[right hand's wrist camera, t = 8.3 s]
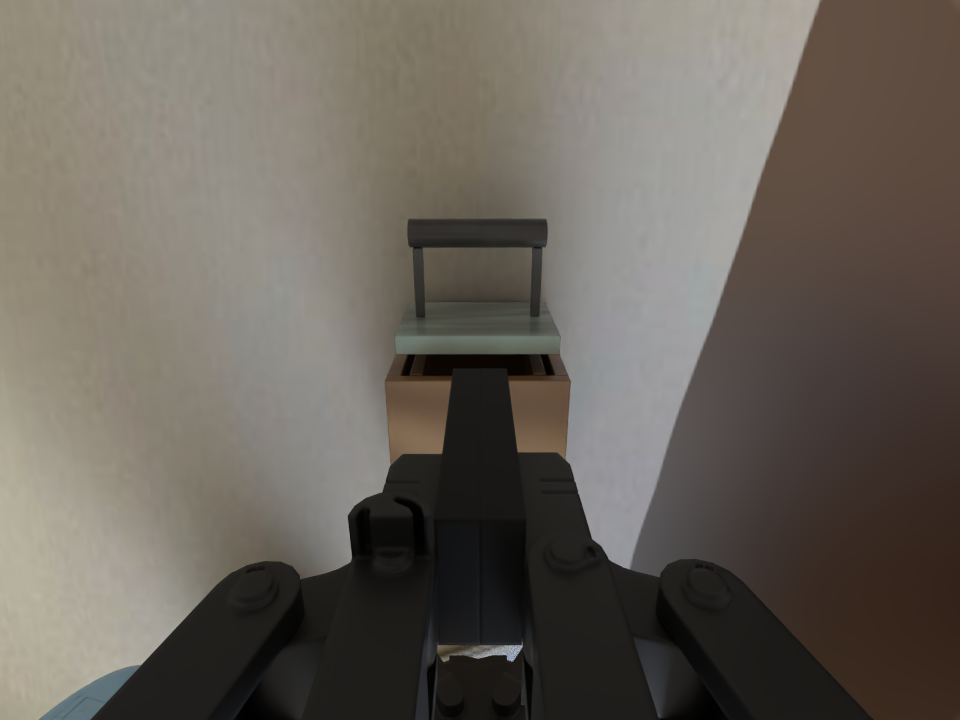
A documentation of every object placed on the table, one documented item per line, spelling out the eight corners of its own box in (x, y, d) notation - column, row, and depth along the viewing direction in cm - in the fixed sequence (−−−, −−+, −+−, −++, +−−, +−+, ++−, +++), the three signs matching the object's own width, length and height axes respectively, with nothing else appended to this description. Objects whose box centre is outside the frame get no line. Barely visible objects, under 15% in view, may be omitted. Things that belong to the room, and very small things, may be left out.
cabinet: (405, 330, 40) (384, 380, 31) (550, 330, 40) (570, 380, 31) (415, 512, 46) (400, 599, 37) (540, 512, 46) (556, 598, 37)
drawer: (405, 213, 36) (387, 227, 29) (549, 212, 36) (567, 227, 29) (419, 484, 44) (407, 549, 37) (536, 483, 44) (548, 548, 37)
